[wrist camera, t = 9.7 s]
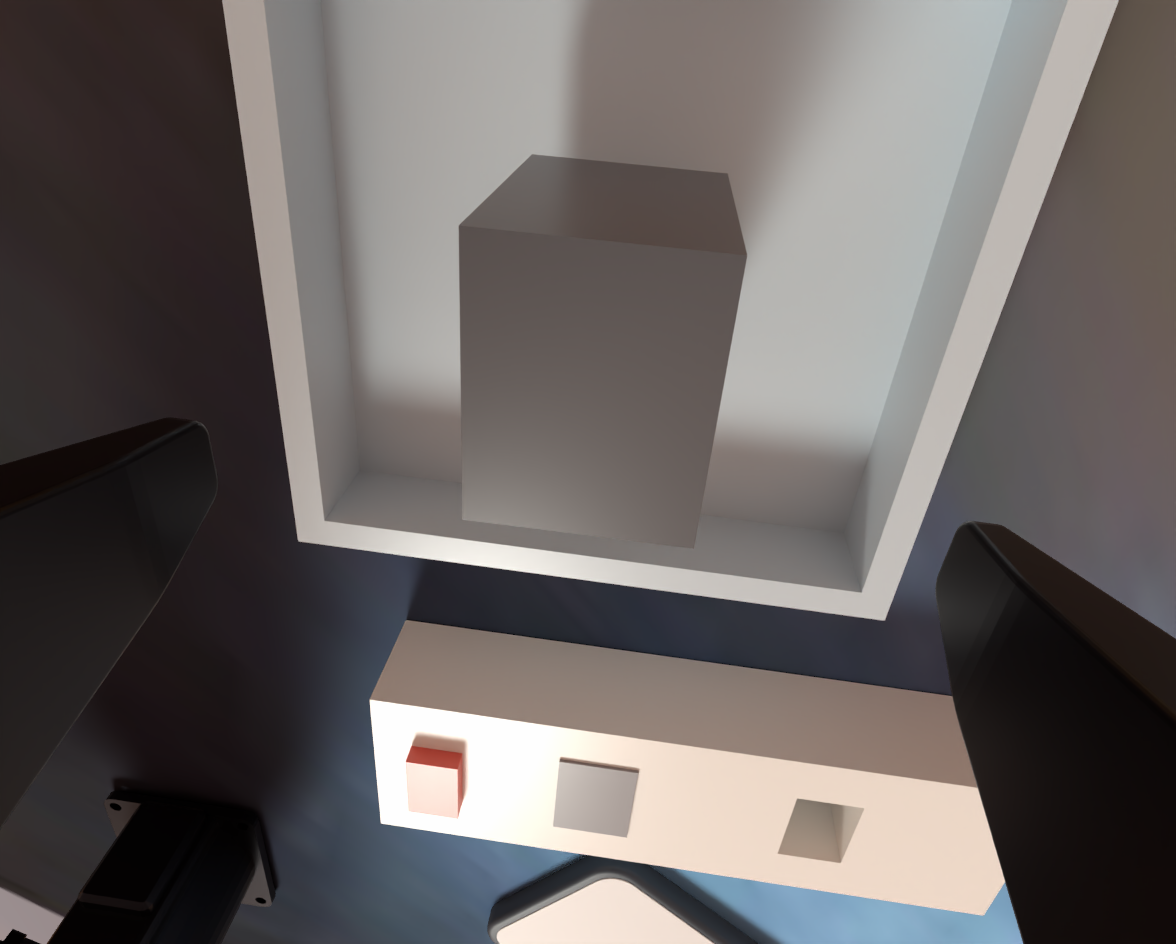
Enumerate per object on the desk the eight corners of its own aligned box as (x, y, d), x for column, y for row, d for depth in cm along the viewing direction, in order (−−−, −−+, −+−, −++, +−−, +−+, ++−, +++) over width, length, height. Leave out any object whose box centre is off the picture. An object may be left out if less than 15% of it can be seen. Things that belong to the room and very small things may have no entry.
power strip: (1234, 735, 25) (1324, 856, 21) (1146, 847, 28) (1213, 968, 24) (405, 619, 26) (362, 715, 23) (412, 739, 29) (374, 839, 26)
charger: (724, 158, 17) (747, 255, 11) (691, 366, 20) (693, 548, 13) (545, 140, 17) (458, 225, 11) (536, 348, 20) (462, 520, 13)
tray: (862, 550, 23) (884, 620, 20) (340, 482, 23) (297, 541, 21) (1086, -115, 14) (1171, -140, 12) (273, -186, 15) (191, -224, 13)
